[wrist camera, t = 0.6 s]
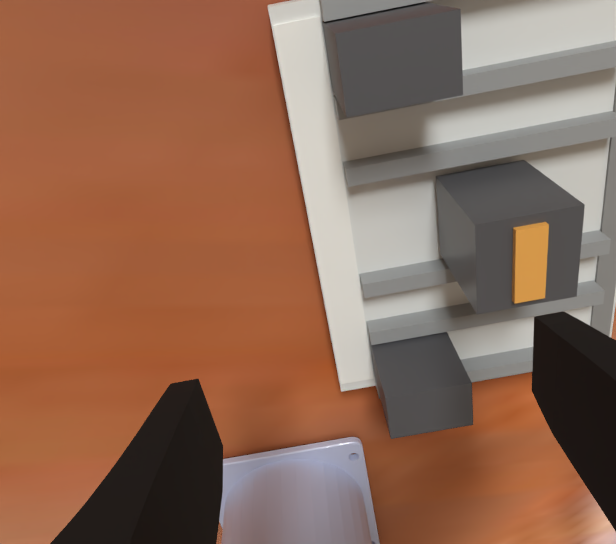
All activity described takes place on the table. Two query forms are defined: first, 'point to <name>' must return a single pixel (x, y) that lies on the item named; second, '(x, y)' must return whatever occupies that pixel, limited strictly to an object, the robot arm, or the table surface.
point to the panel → (439, 161)
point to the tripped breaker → (509, 235)
